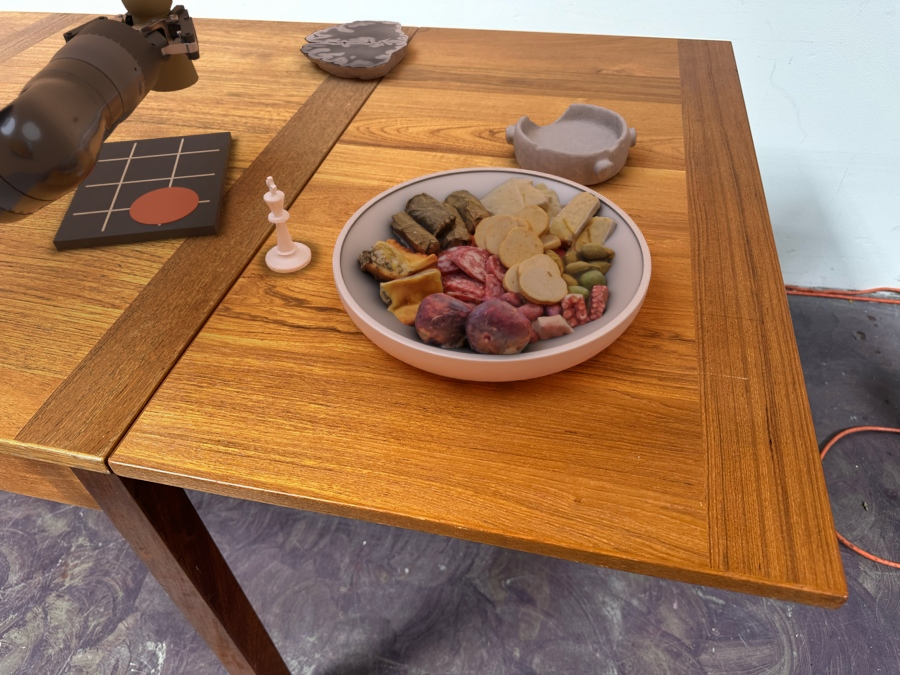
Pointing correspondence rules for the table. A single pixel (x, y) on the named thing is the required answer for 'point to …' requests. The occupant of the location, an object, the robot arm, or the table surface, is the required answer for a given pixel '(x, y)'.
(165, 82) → the brown knobbed peg
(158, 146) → the board
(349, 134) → the table surface
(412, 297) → the bowl
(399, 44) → the brain slice
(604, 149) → the dish
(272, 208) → the chess piece
